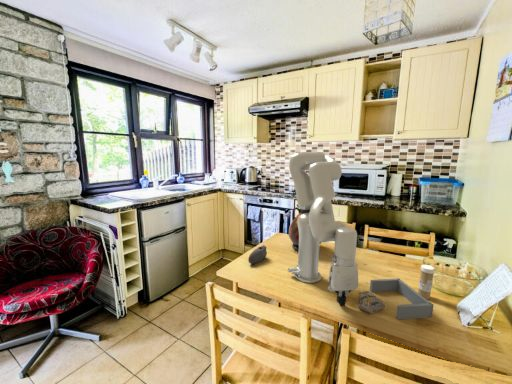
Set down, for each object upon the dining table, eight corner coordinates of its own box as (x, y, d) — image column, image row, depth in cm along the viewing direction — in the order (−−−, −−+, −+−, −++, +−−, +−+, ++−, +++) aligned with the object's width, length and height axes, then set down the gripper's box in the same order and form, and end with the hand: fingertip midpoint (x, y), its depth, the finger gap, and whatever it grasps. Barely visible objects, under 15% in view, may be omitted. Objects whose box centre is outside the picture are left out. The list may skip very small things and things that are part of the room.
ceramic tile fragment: (354, 288, 101) (380, 291, 99) (354, 295, 102) (379, 298, 99) (359, 306, 90) (389, 310, 87) (358, 313, 90) (388, 318, 88)
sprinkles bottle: (414, 293, 103) (418, 264, 101) (424, 292, 103) (428, 263, 101) (423, 300, 98) (427, 269, 96) (433, 299, 99) (437, 269, 97)
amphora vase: (327, 246, 153) (330, 203, 148) (317, 259, 134) (320, 210, 130) (295, 239, 164) (297, 199, 159) (282, 250, 145) (283, 205, 140)
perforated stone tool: (252, 267, 124) (252, 254, 123) (244, 264, 128) (244, 252, 127) (269, 257, 136) (269, 246, 135) (262, 255, 139) (262, 243, 138)
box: (398, 319, 87) (399, 307, 86) (369, 290, 105) (370, 279, 104) (431, 317, 88) (433, 304, 87) (397, 288, 106) (399, 278, 105)
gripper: (329, 265, 86) (326, 311, 89) (368, 263, 88) (364, 308, 91) (321, 256, 94) (319, 299, 97) (357, 254, 95) (354, 297, 98)
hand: (341, 303), depth 94 cm, fingers closed
